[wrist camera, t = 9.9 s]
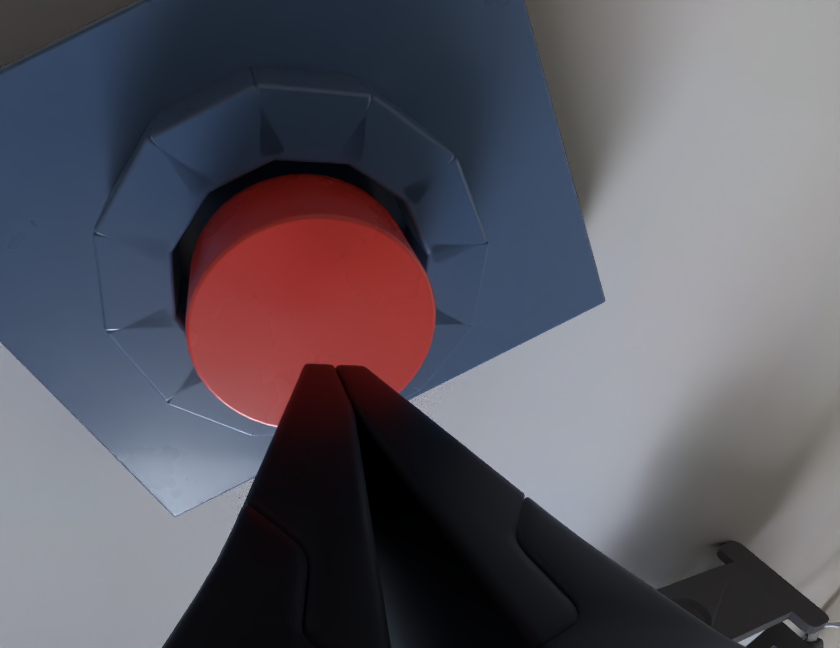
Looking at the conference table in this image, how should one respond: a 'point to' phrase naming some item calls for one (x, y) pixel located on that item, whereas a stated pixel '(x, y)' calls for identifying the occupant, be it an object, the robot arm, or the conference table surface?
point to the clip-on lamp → (749, 602)
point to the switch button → (303, 292)
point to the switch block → (259, 160)
